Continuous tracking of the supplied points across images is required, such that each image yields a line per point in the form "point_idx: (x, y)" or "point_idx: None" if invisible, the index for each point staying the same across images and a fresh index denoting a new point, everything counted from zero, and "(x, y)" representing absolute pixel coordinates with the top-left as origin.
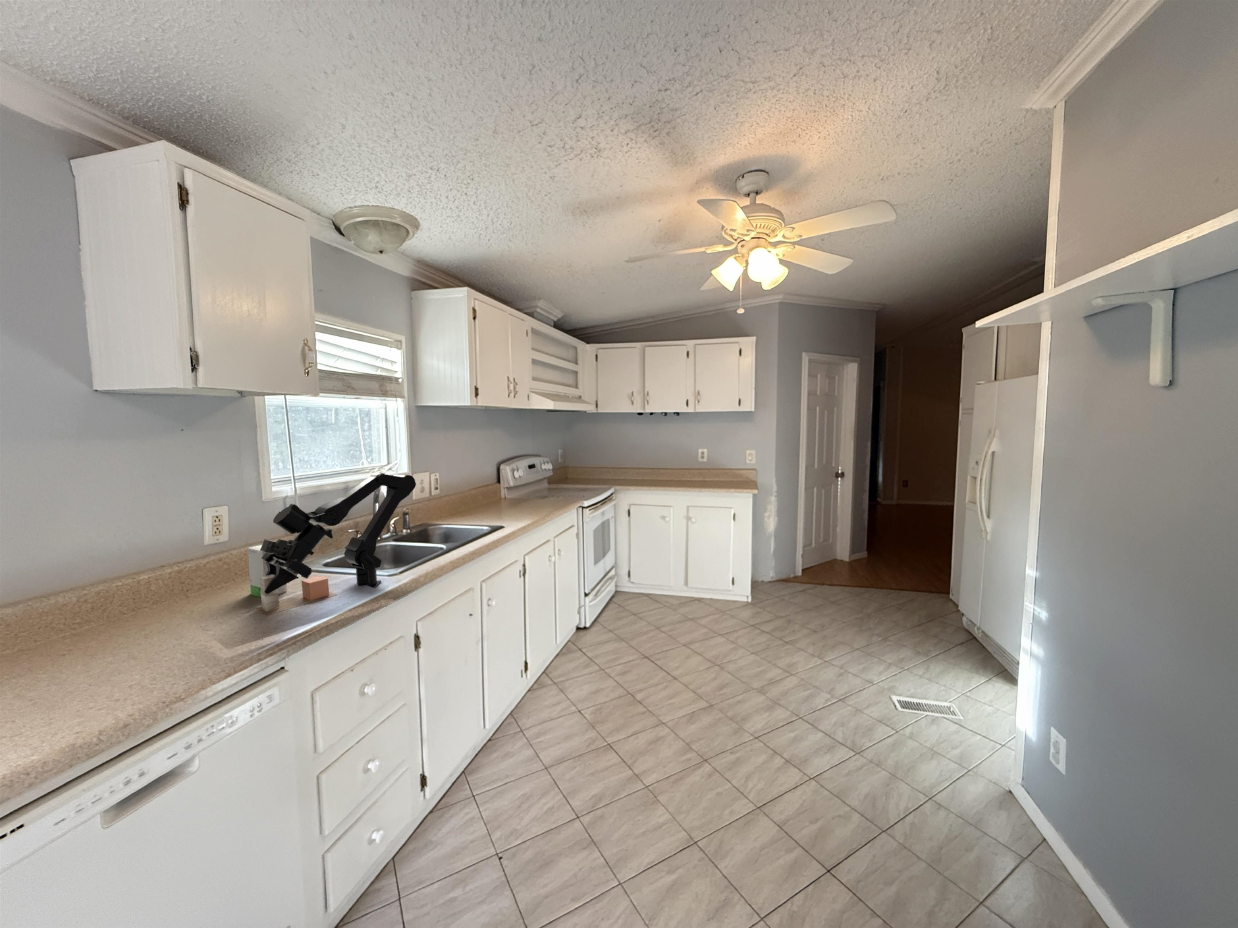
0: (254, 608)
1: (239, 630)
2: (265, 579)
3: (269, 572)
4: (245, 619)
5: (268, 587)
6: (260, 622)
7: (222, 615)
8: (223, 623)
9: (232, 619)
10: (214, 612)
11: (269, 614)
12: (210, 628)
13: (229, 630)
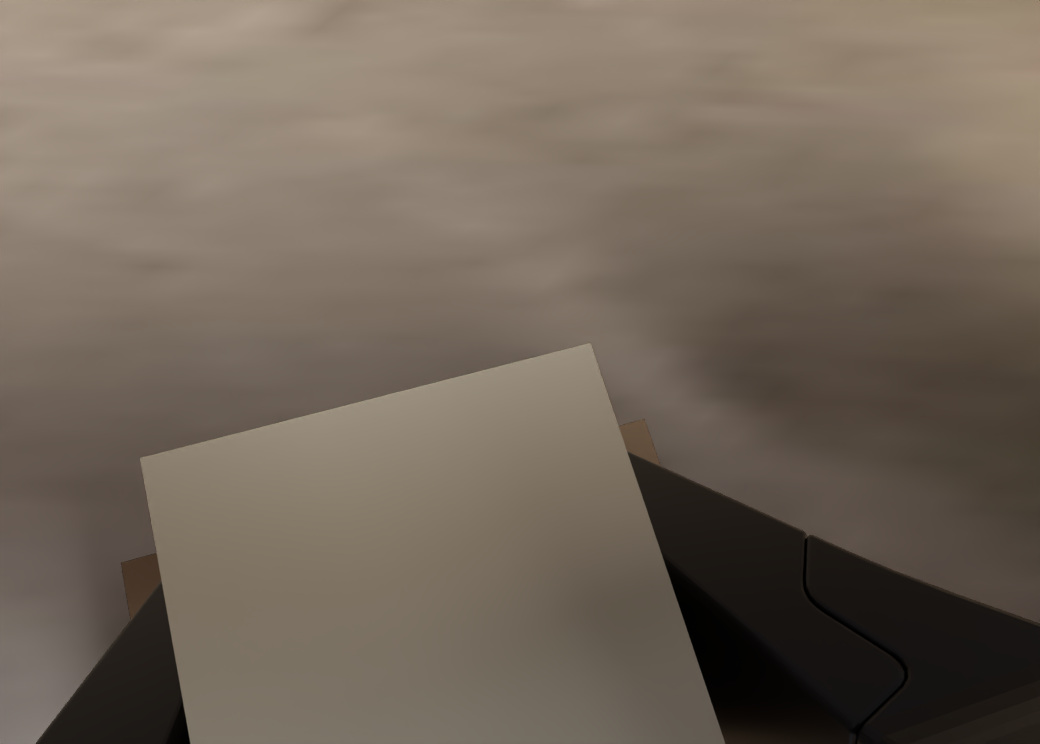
0: (635, 429)
1: (22, 257)
2: (169, 518)
3: (832, 714)
4: (438, 336)
5: (147, 607)
6: (136, 484)
7: (805, 143)
8: (472, 136)
9: (558, 218)
10: (981, 86)
11: (132, 598)
12: (389, 30)
13: (131, 171)
